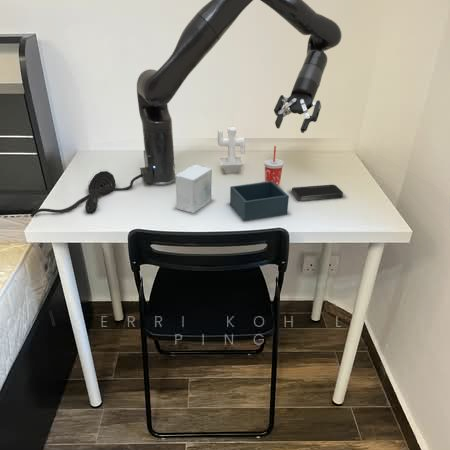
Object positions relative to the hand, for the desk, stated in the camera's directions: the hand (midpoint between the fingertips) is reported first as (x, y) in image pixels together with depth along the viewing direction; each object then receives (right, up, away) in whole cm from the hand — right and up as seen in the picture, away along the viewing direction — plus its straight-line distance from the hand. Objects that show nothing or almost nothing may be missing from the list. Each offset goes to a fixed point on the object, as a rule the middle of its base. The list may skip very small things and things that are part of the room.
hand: (289, 129), depth 146 cm
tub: (-11, -27, -9) cm, 31 cm away
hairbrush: (-60, -22, -3) cm, 64 cm away
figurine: (-18, -9, +15) cm, 26 cm away
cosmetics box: (-30, -26, -7) cm, 40 cm away
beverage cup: (-5, -19, +3) cm, 20 cm away
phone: (+9, -21, 0) cm, 23 cm away
